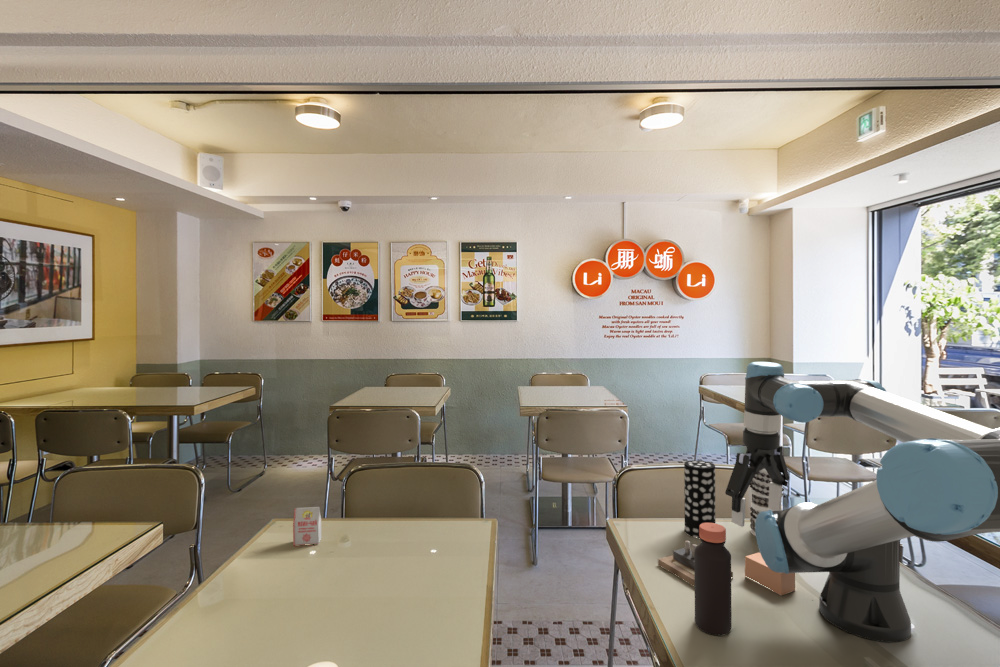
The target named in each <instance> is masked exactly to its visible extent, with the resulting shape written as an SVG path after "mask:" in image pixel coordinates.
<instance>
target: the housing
mask: <svg viewBox="0 0 1000 667" xmlns="http://www.w3.org/2000/svg"><path fill="white" fill-rule="evenodd" d="M745 576H747V577H749V578H751V579H753V580H755V581H757V582H759V583H760V584H762V585H764V586H766V587H768V588H770V589H771V590H773V591H774V592H773V591H772V592H773V593H775V592H776V593H775V594H777V593H778V594H777V595H779V594H780V595H779V596H784V595H787V594H789V593H792V592H795V591H796V573H789V574H785V573H778V572H774V571H772V570H771V569H770V568H769V567H768V566H767V565H766V563H765V561H764V560H763V558H762V556H761V553H760V551H757V552H755V553H752V554H748V555H746V556H744V577H745ZM771 590H770V591H771Z"/></svg>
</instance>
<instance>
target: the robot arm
mask: <svg viewBox="0 0 1000 667" xmlns="http://www.w3.org/2000/svg"><path fill="white" fill-rule="evenodd" d="M784 371H785V370H784V367H783V365H782V364H780V363H777V362H773V361H772V362H770V361H751V362H750V363H748V364H747V366H746V372H745V373H746V375H745V378H744V380H745V384H744V387H745V388H744V412H743V413H744V415H743V429H742V443H743V445H744V446H745V447H746V452H745V453H741V452H737V453H736V456H735V463H734V466H733V470H732V472H731V475H730V477H729V480H728V483H727V485H726V486H727V487H726V488H725V492H724V493H725V495H726V496H728V497H731V523H733V524H735V525H737V526H738V527H739V526H740V527H741V528H743V527H745V517H746V500H747V499H746V498H745V494H746V493H747V490H748V489H749V488H750V483H751V481H752V479H753V477H754V476H755V474H758V473H759V471H760V470H762V469H766V471H767V473H768V474H769V476H770V478H771V479H772V481H773V482H774V483H773V482H770V485H769V503H768V508H769V509H771V510H774V511H771V510H768V511H762V512H760V513H759V514H758V515H757V518H756V522H755V533H756V536H755V539H756V543H757V548H758V550H759V551H758V552H759V553H761V556H762V558H763V560H764V561H765V563H766V565H767V566H768V567H769V568H770V569H771V570H772V571H774V572H778V573H785V574H789V573H795V574H797V573H798V574H799V573H800V574H801V573H803V574H805V573H826V572H827V573H828V576H827V578H826V581H825V584H824V586H823V589H822V590H821V593H820V596H819V603H818V604H819V607H818V608H819V611H820V614H821V615H822V616H823V618H824V619H826V621H828V622H829V623H831V624H832V625H834V626H835V627H836V628H838V629H841V630H842V631H845V632H847V633H850V634H852V635H853V636H857V637H861V638H864V639H867V640H871V641H872V640H873V641H877V642H886V643H896V642H897V643H898V642H904V641H905V640H908V639H909V638H910V637H911V635H912V622H911V618H910V615H909V613H908V609H907V606H906V604H905V601H904V598H903V596H902V593H901V588H900V587H901V586H900V585H901V584H900V580H901V579H900V576H901V575H900V574H901V572H900V571H901V570H900V567H901V566H900V563H901V562H900V561H901V560H900V558H901V556H900V555H901V540H904V539H908V538H911V537H916V538H918V539H920V540H923V541H927V542H935V543H936V542H937V543H941V542H947V541H952V540H957V539H960V538H965V537H970V536H973V535H974V536H975V535H980V534H987V533H989V534H990V533H1000V427H998V428H991V427H988V426H986V425H982V424H980V423H977V422H974V421H971V420H967V419H965V418H962V417H960V416H957V415H954V414H952V413H951V414H950V413H948V412H945V411H942V410H940V409H936V408H934V407H930V406H928V405H925V404H922V403H919V402H917V401H914V400H911V399H909V398H905V397H903V396H899V395H897V394H893V393H890V392H888V391H887V390H886V388H885V387H883V385H882V384H881V383H880V382H878V381H875V380H873V379H872V380H869V379H861V378H856V379H837V380H836V379H833V380H830V379H829V380H827V379H826V380H822V379H821V380H791V379H790V378H789V379H788V378H785V373H784ZM782 417H784V418H786V419H788V420H790V421H793V422H796V423H803V424H806V423H809V422H811V421H814V420H815V419H817V418H825V417H826V418H828V417H829V418H831V417H832V418H833V417H835V418H836V417H837V418H838V417H839V418H840V417H845V418H849V419H851V420H853V421H855V422H857V423H860V424H863V425H865V426H867V427H869V428H871V429H873V430H876V431H878V432H880V433H882V434H884V435H886V436H889V437H891V438H893V439H895V440H897V441H899V442H901V443H898V444H896V445H894V446H892V447H891V448H890V449H889V450H887V451H886V452H885V453H884V454H883V456H882V457H881V459H880V461H879V463H880V465H881V467H878V468H877V469H876V476H875V478H876V480H874V481H872V482H869V483H867V484H865V485H863V486H859V487H857V488H855V489H852V490H851V491H847V492H845V493H844V494H842V495H839V496H837V497H834V498H831V499H830V500H827V501H824V502H822V503H820V504H817V503H813V502H801V503H798V504H795V505H793V506H791V507H788V508H787V509H782V510H781V505H782V502H781V500H783V497H782V493H783V491H782V488H783V486H784V487H787V486H788V484H789V482H788V481H789V480H790V474H789V471H788V468H787V464H786V460H785V456H784V446H782V445H780V440H781V439H780V438H781V436H780V435H781V434H780V432H779V431H780V430H781V428H782V425H781V424H782V422H781V421H782ZM749 466H750V467H749Z"/></svg>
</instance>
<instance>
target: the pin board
mask: <svg viewBox="0 0 1000 667" xmlns="http://www.w3.org/2000/svg"><path fill="white" fill-rule="evenodd" d="M696 546H698V545H697V544H695V543H691V541H689V540H685V541H684V547H683V548H679V549H675V550H673V551H672V555H669V556H665V557H661V558H658V559H657V562H658V563H657V565H658V566H659V565H660V566H659V567H661V566H662V567H663V569H664V568H665V569H664V570H666V569H667V570H666V571H668V570H669V571H670V572H669V571H668V572H669V573H671V572H672V574H673V573H674V574H676V575H677V576H676V575H675V576H676V577H678V576H679V577H680V579H681V578H682V579H681V580H683V579H684V580H685V581H684V580H683V581H684V582H686V581H687V582H686V583H688V582H689V583H690V584H689V583H688V584H689V585H691V584H692V585H691V586H693V585H694V586H695V567H694V550H695V548H696ZM662 567H661V568H662ZM674 574H673V575H674ZM733 576H734V572H733V571H732V570H731V577H733ZM679 577H678V578H679ZM733 578H734V577H733ZM694 586H693V587H694Z"/></svg>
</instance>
